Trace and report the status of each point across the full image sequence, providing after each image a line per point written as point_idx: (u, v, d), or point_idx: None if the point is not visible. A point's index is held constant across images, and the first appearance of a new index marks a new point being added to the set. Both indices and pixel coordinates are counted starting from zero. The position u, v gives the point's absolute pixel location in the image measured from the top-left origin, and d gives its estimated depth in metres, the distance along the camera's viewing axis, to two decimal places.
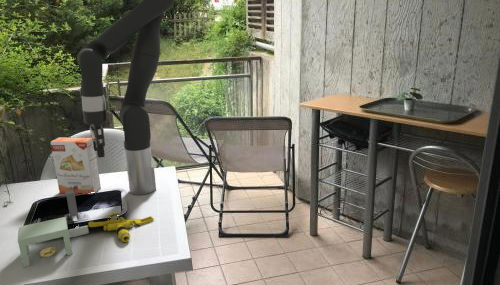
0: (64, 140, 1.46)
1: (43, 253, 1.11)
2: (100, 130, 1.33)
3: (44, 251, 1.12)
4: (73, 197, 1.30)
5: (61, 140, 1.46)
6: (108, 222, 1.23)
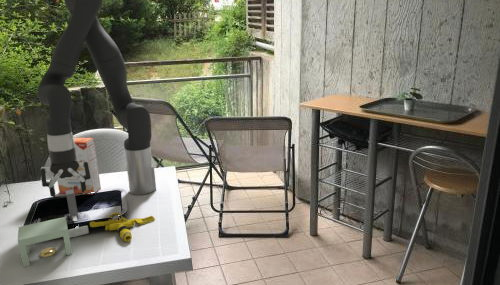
0: None
1: (43, 253, 1.11)
2: None
3: (44, 251, 1.12)
4: (73, 197, 1.30)
5: None
6: (109, 222, 1.24)
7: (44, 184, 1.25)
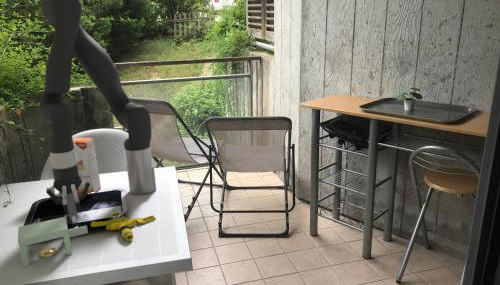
0: None
1: (43, 253, 1.11)
2: None
3: (44, 251, 1.12)
4: (72, 197, 1.30)
5: None
6: (110, 222, 1.24)
7: (58, 202, 1.29)
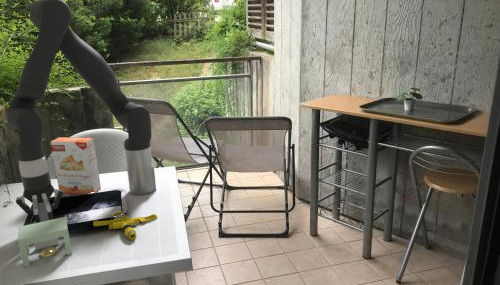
0: (64, 140, 1.46)
1: (43, 253, 1.11)
2: None
3: (44, 251, 1.12)
4: (44, 206, 1.24)
5: (61, 140, 1.46)
6: (113, 221, 1.24)
7: (29, 212, 1.22)
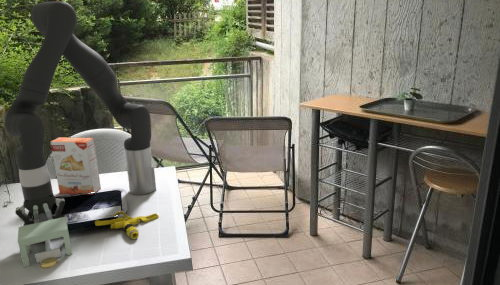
0: (64, 140, 1.46)
1: (44, 264, 1.06)
2: (64, 201, 1.20)
3: (45, 261, 1.08)
4: (45, 215, 1.18)
5: (61, 140, 1.46)
6: (114, 220, 1.24)
7: (29, 223, 1.16)
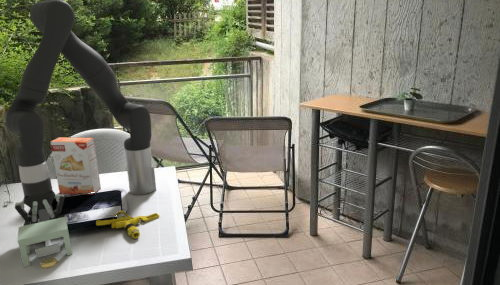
0: (64, 140, 1.46)
1: (44, 264, 1.06)
2: None
3: (45, 261, 1.08)
4: (45, 212, 1.20)
5: (61, 140, 1.46)
6: (115, 220, 1.25)
7: (27, 219, 1.18)
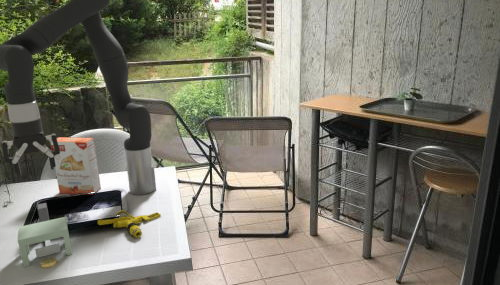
0: (64, 140, 1.46)
1: (44, 264, 1.06)
2: (55, 135, 1.18)
3: (45, 261, 1.07)
4: (45, 212, 1.20)
5: (61, 140, 1.46)
6: (117, 219, 1.25)
7: (7, 160, 1.12)
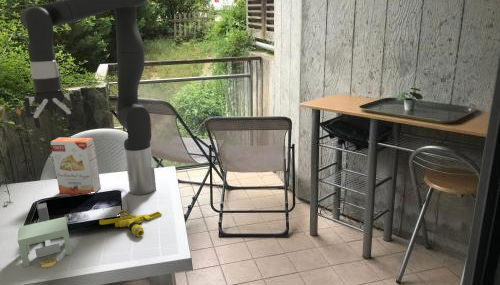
0: (64, 140, 1.46)
1: (44, 264, 1.06)
2: (72, 93, 1.27)
3: (44, 261, 1.07)
4: (45, 212, 1.20)
5: (61, 140, 1.46)
6: (118, 219, 1.25)
7: (28, 114, 1.22)
